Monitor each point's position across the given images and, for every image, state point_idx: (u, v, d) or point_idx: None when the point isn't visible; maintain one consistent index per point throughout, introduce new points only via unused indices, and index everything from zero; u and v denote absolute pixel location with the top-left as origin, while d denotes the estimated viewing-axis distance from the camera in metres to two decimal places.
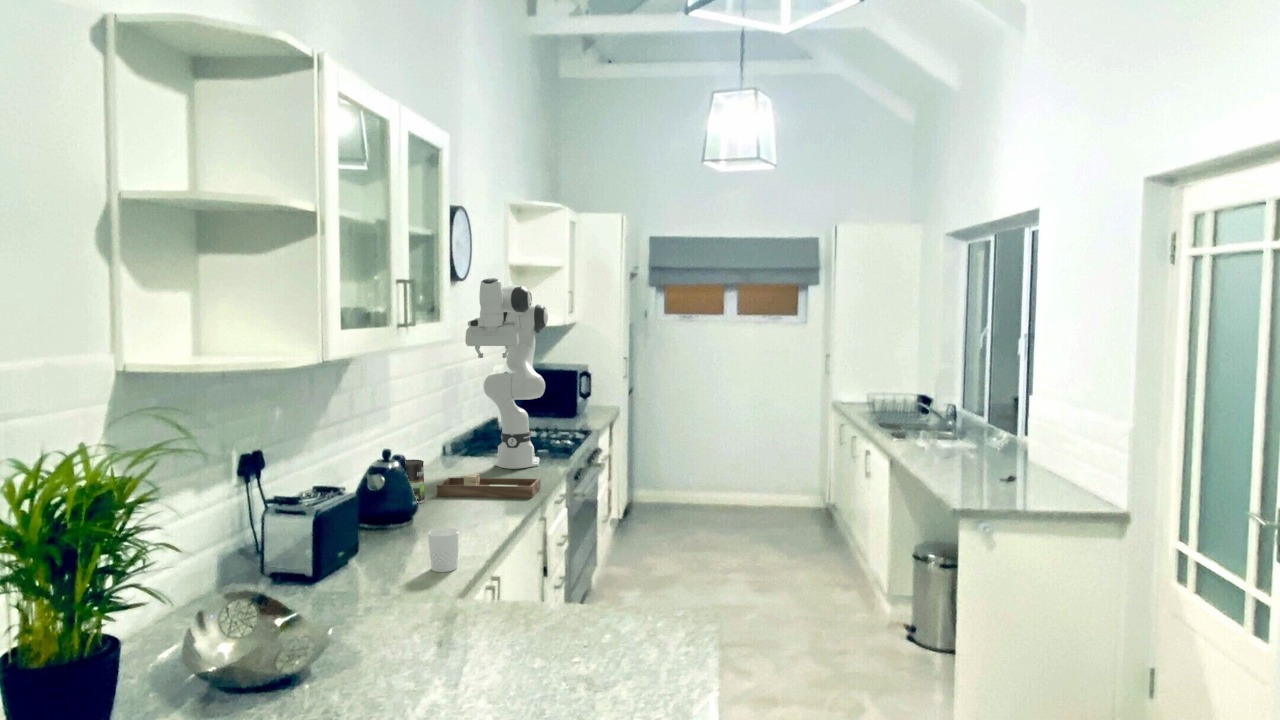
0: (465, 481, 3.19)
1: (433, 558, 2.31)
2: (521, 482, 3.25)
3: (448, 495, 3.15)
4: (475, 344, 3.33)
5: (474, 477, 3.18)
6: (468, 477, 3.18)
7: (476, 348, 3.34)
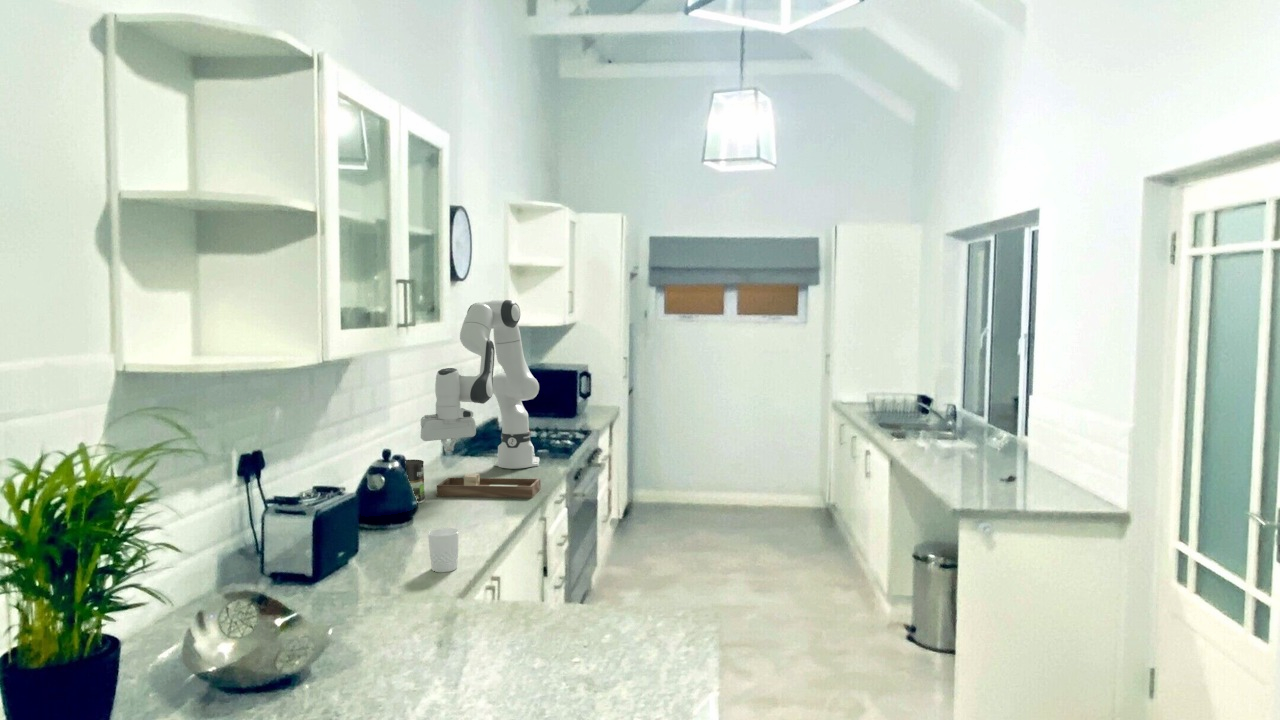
0: (465, 481, 3.19)
1: (433, 558, 2.31)
2: (521, 482, 3.25)
3: (448, 495, 3.15)
4: None
5: (474, 477, 3.18)
6: (468, 477, 3.18)
7: None
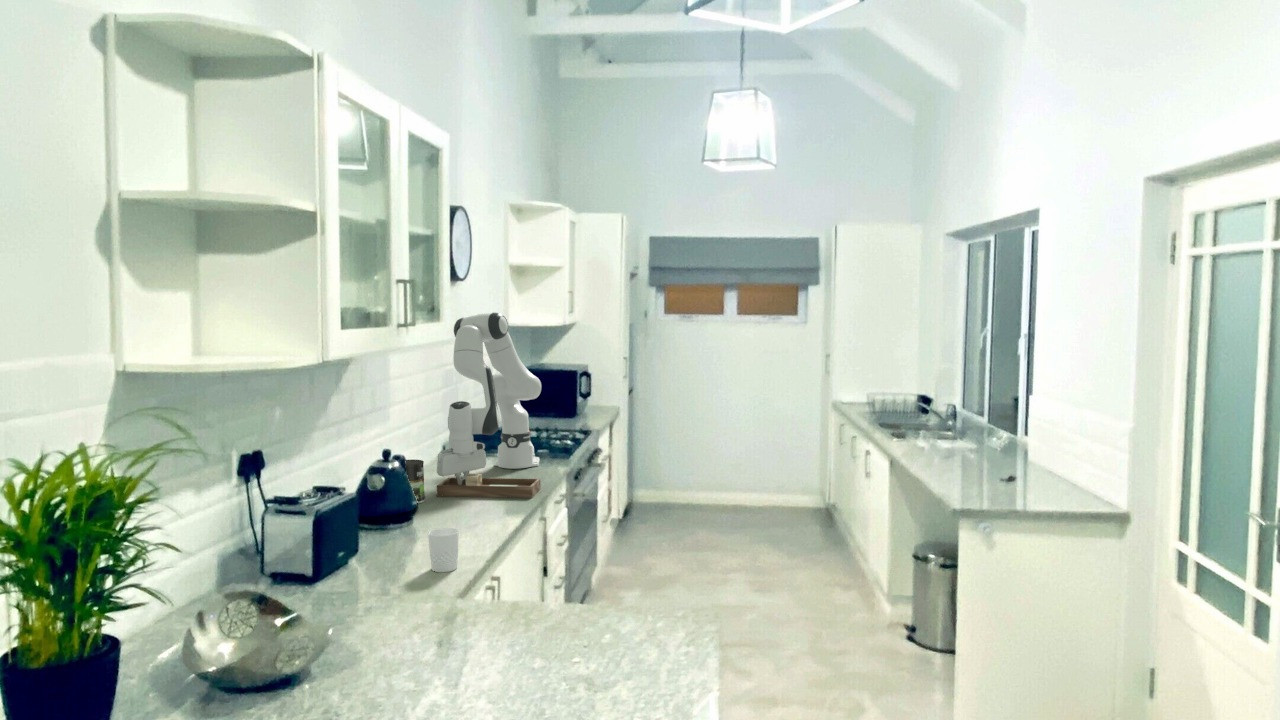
0: (467, 481, 3.19)
1: (433, 558, 2.31)
2: (521, 482, 3.25)
3: (448, 495, 3.15)
4: None
5: (475, 477, 3.18)
6: (470, 477, 3.18)
7: None
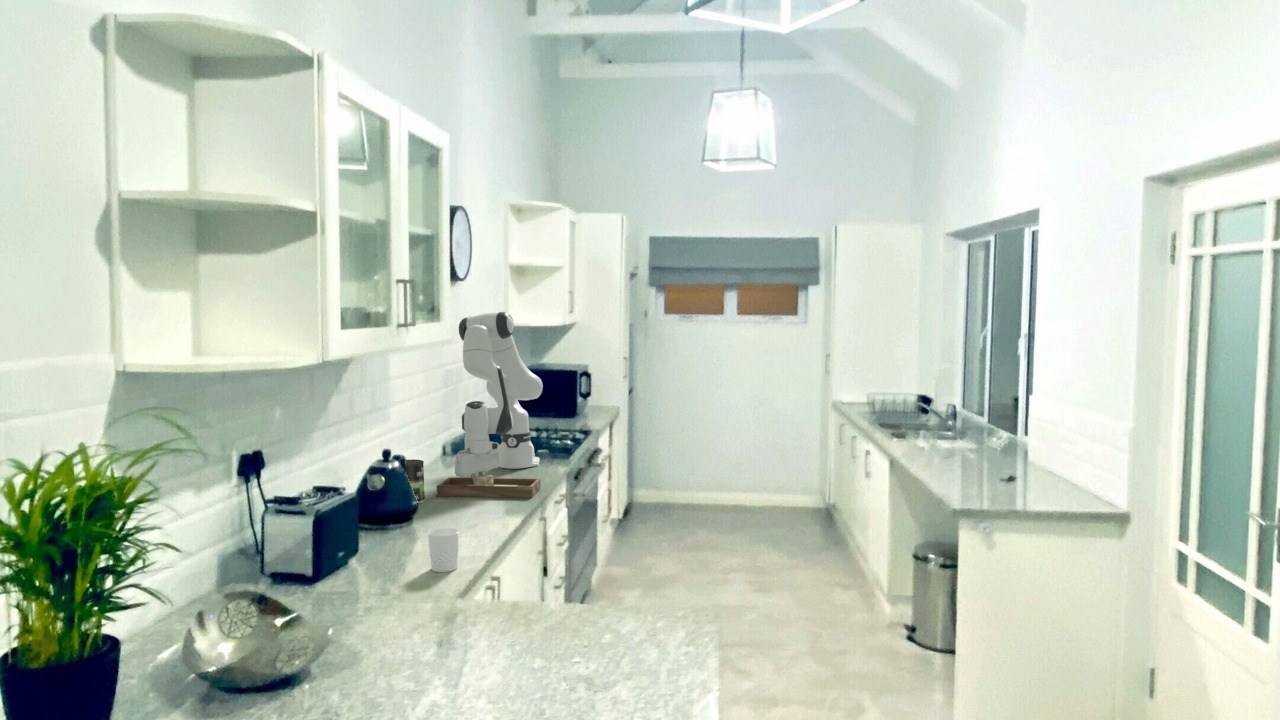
0: (476, 481, 3.18)
1: (433, 558, 2.31)
2: (521, 482, 3.25)
3: (448, 495, 3.15)
4: None
5: (483, 478, 3.16)
6: (479, 478, 3.17)
7: None
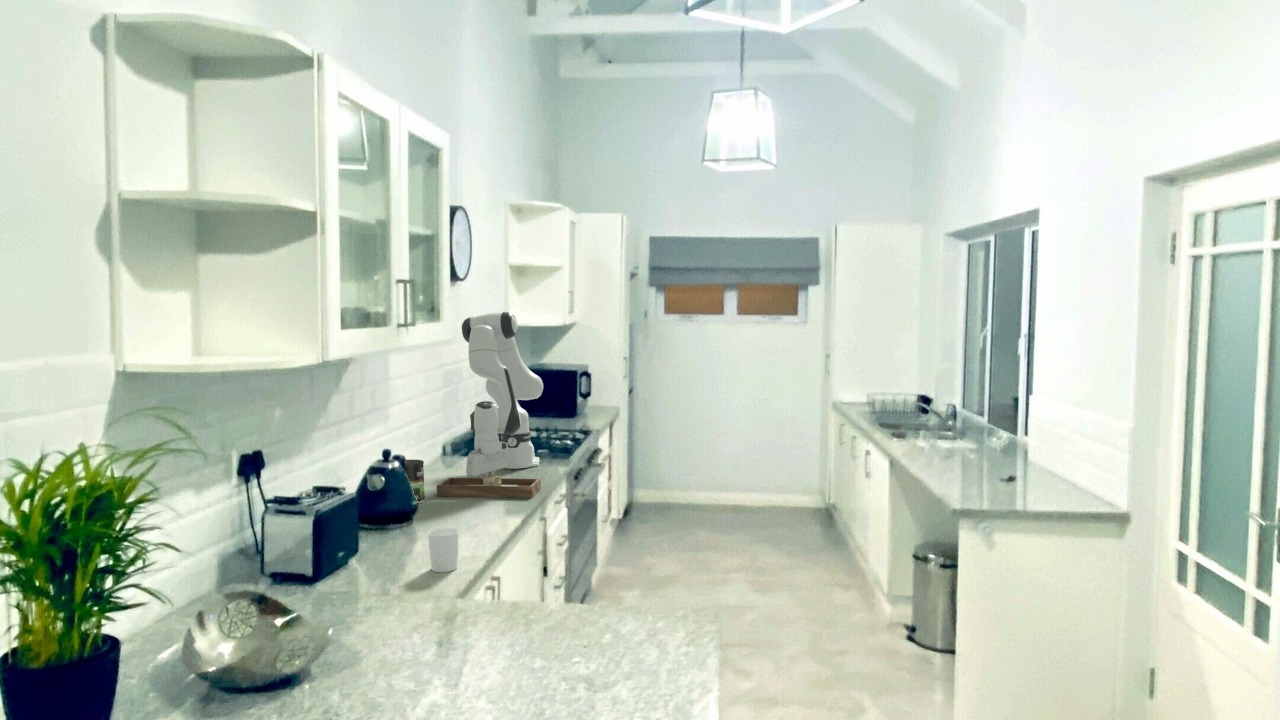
0: (484, 482, 3.16)
1: (433, 558, 2.31)
2: (521, 482, 3.25)
3: (448, 495, 3.15)
4: None
5: (492, 479, 3.14)
6: (487, 479, 3.15)
7: None
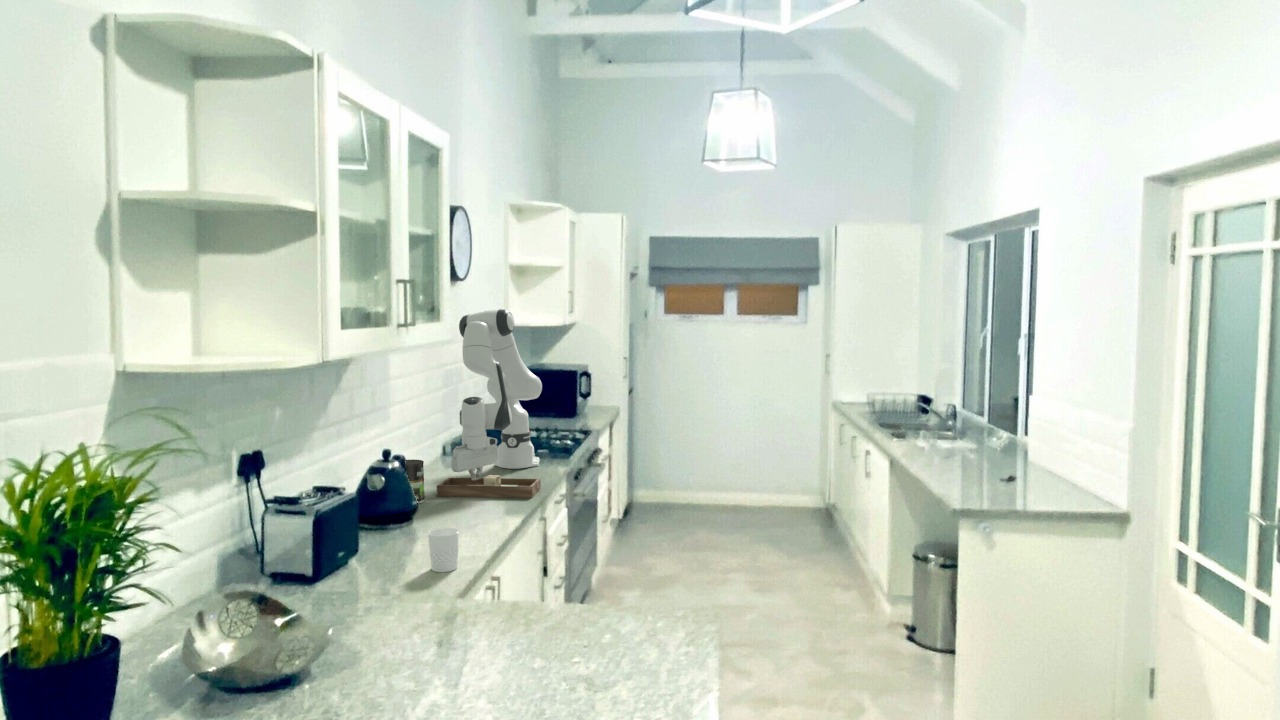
0: (485, 482, 3.16)
1: (433, 558, 2.31)
2: (521, 482, 3.25)
3: (448, 495, 3.15)
4: None
5: (493, 479, 3.15)
6: (488, 478, 3.16)
7: None
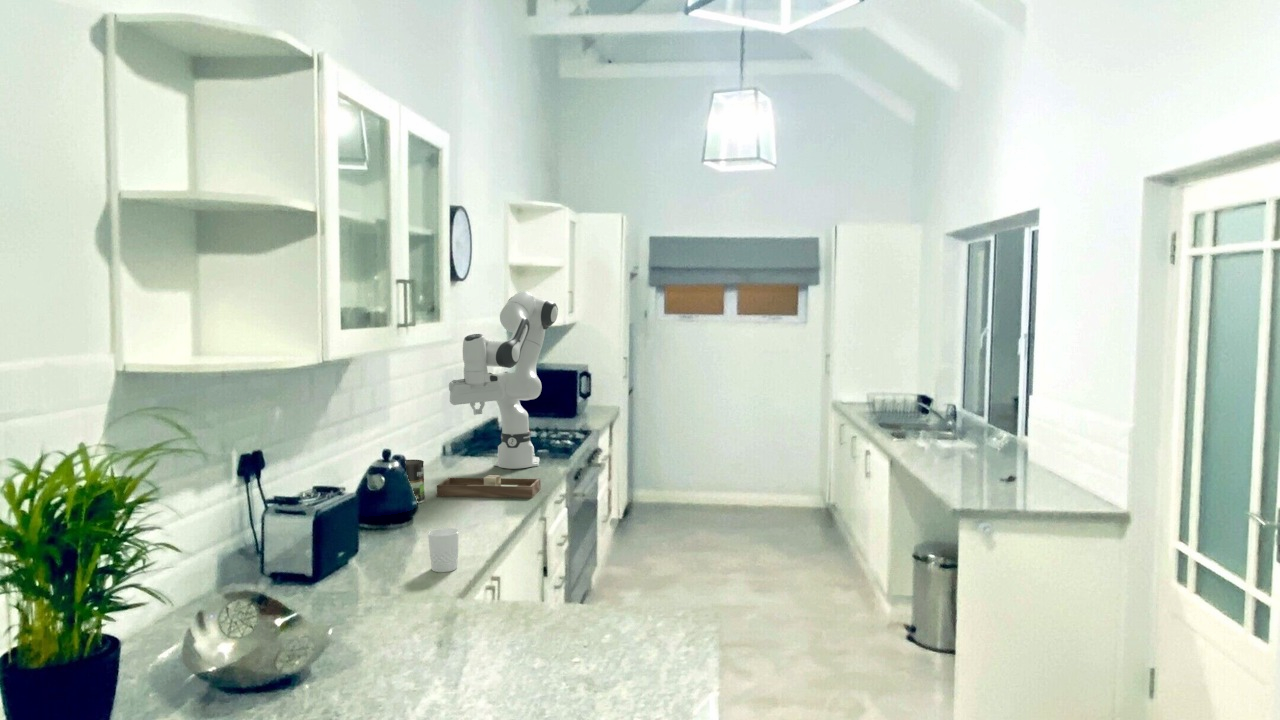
0: (485, 482, 3.16)
1: (433, 558, 2.31)
2: (521, 482, 3.25)
3: (448, 495, 3.15)
4: None
5: (493, 479, 3.15)
6: (488, 478, 3.16)
7: None
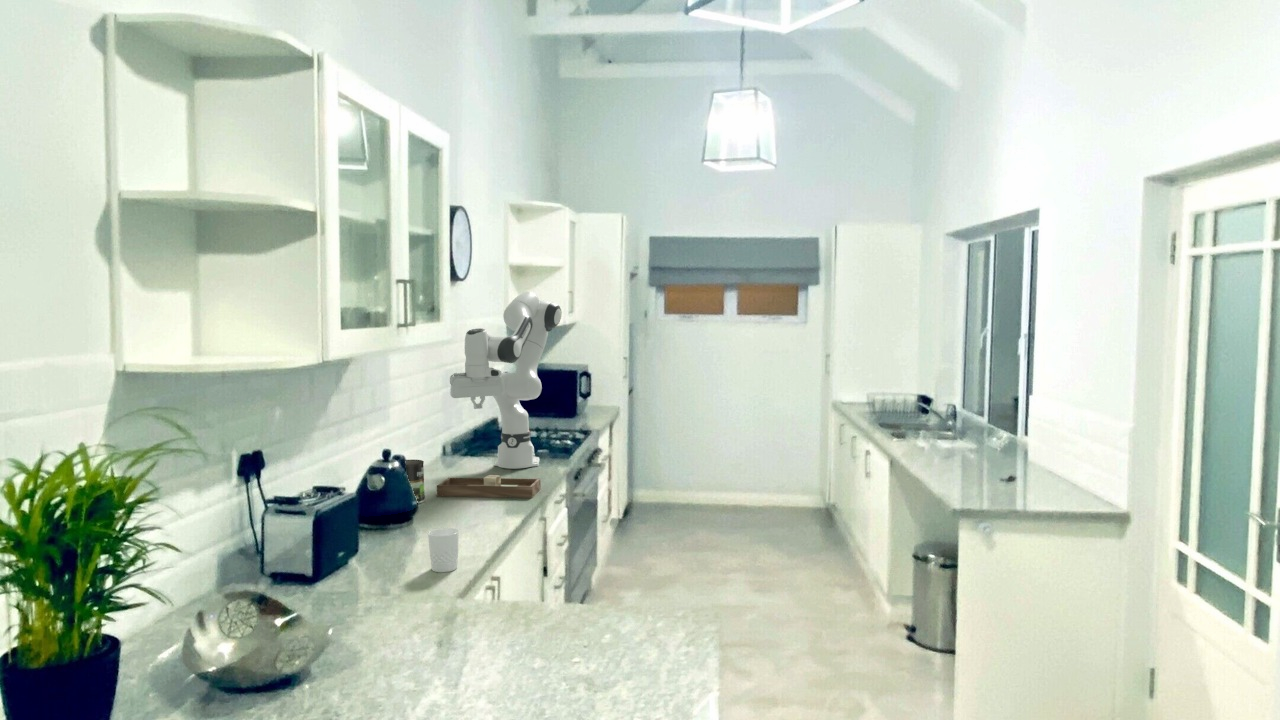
0: (485, 482, 3.16)
1: (433, 558, 2.31)
2: (521, 482, 3.25)
3: (448, 495, 3.15)
4: None
5: (493, 479, 3.15)
6: (488, 478, 3.16)
7: None
